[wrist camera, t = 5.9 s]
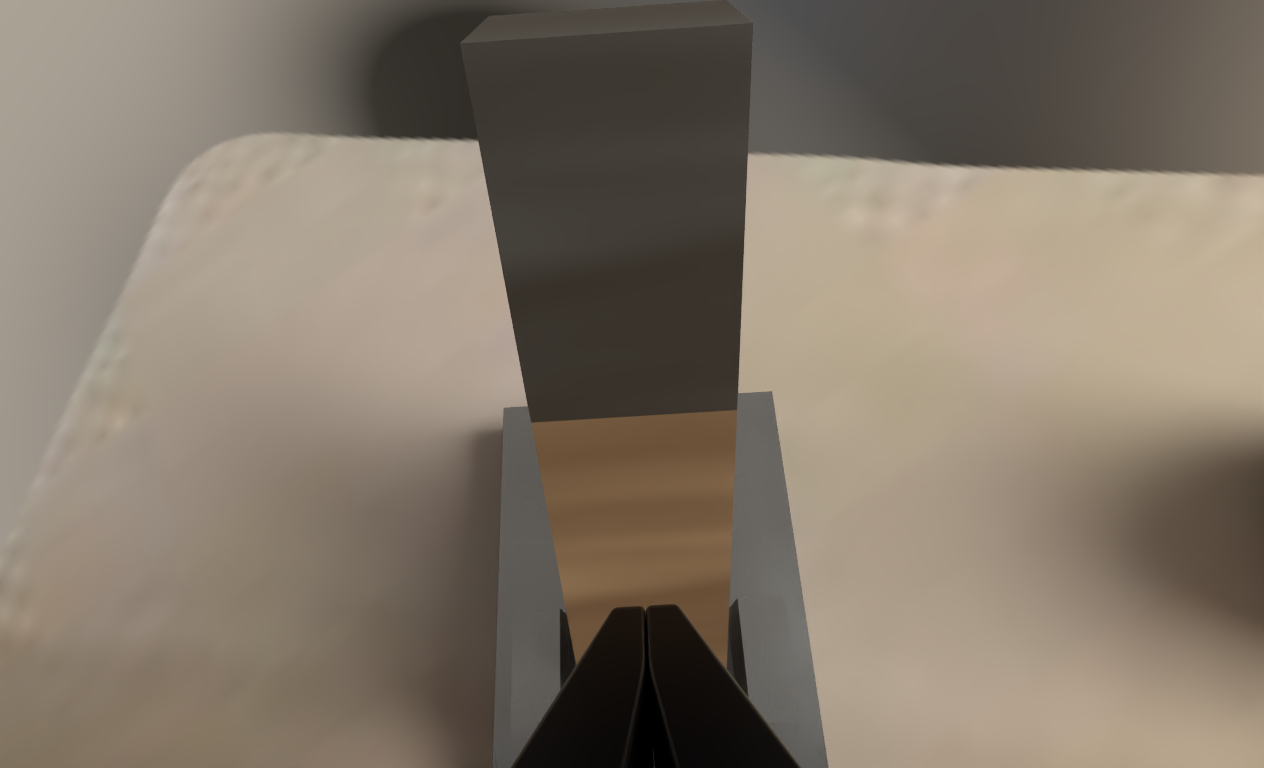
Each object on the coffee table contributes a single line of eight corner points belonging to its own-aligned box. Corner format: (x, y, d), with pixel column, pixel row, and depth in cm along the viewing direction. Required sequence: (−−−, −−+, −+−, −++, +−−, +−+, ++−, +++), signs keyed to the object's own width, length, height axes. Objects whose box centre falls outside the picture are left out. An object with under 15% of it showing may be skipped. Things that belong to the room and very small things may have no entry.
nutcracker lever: (724, 724, 15) (752, 23, 7) (588, 731, 15) (460, 43, 7) (713, 643, 17) (725, -1, 9) (590, 650, 17) (488, 15, 9)
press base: (826, 845, 16) (900, 913, 11) (503, 862, 16) (434, 937, 11) (764, 411, 20) (797, 322, 16) (514, 426, 21) (468, 343, 16)
